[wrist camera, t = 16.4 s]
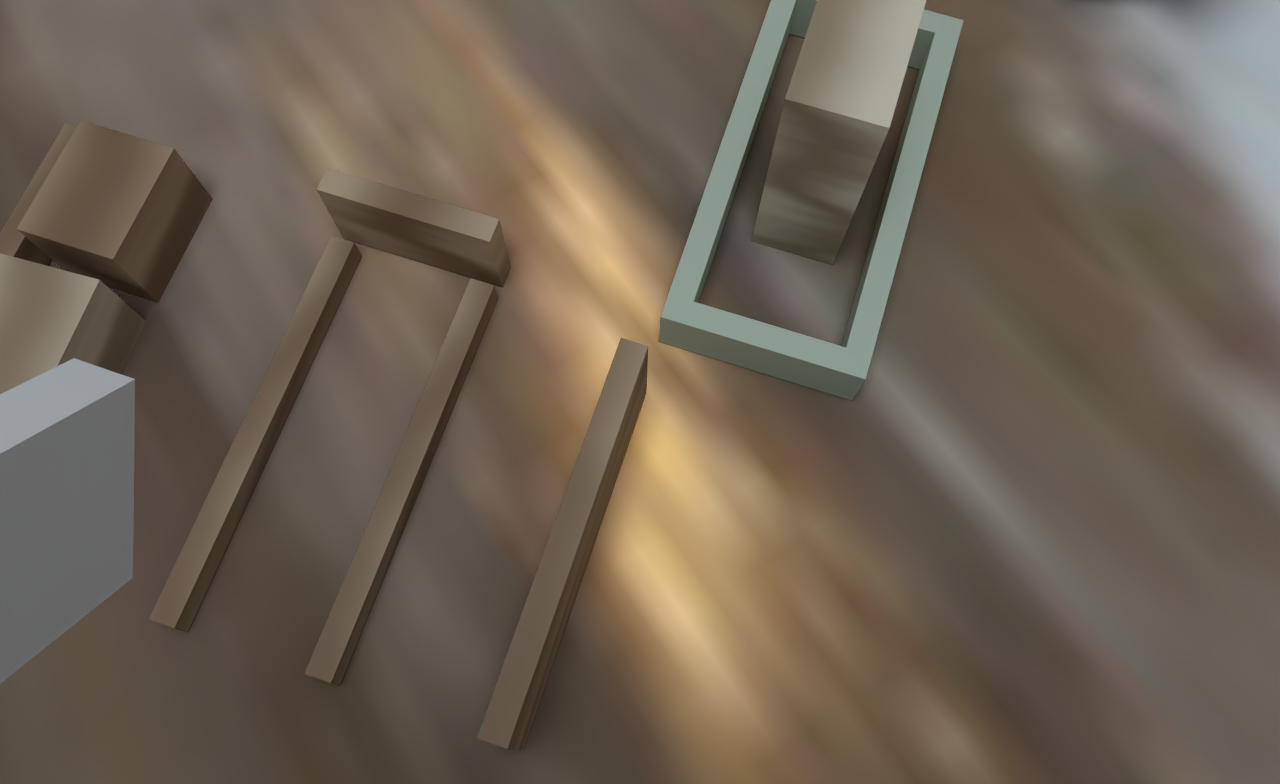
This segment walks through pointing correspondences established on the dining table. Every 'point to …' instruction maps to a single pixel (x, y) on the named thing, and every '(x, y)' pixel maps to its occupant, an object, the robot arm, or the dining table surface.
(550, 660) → the oak rack
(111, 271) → the offcut block
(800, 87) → the tall beige block
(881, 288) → the green frame
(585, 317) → the dining table surface
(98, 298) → the offcut block
